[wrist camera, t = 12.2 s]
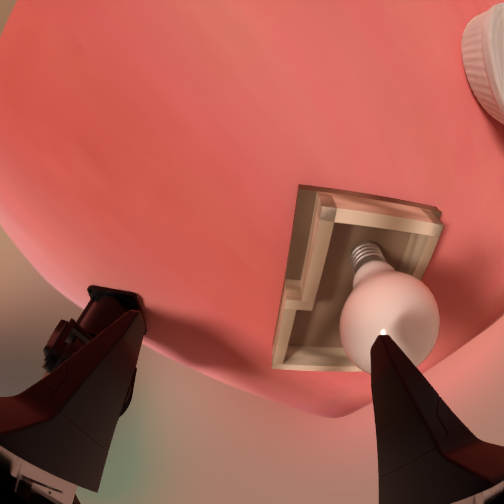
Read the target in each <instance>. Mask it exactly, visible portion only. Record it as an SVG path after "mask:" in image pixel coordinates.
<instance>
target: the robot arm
mask: <svg viewBox="0 0 504 504" xmlns="http://www.w3.org/2000/svg"><path fill="white" fill-rule="evenodd" d="M87 291H88V293H89V296H90V298H91V300H90V301H89V303H88V304H87V306H86V308H85V309H84V311H83V312H82V314H81V315H80V317H79V318H78V320H77V322H75V320H74V319H72V318H71V319H70V321H69V322H68V321H65V320H61V321H60V322H59V324H58V325H57V327H56V328H55V330H54V331H53V333H52V335H51V336H50V338H49V340H48V342H47V344H46V345H45V347H44V349H43V351H44V355H45V357H44V363H43V365H42V368H43V369H44V370H46V372H45V374H44V376H43V378H42V379H41V380H40V381H38V382H37V383H35V384H34V385H32V386H31V387H29V388H28V389H26V390H25V391H23V392H22V393H20V394H18V395H15V396H11V397H0V504H80V502H79V500H78V498H77V496H76V494H75V492H76V488H77V486H80V487H83V488H86V489H88V490H91V491H94V492H98V489H99V485H100V481H101V477H102V473H103V469H104V466H105V462H106V458H107V455H108V450H109V447H110V444H111V440H112V437H113V434H114V430H115V427H116V424H117V421H118V419H119V417H120V416H121V415H123V413H124V412H125V411H126V410H127V408H128V406H129V404H130V402H131V399H132V394H133V388H134V382H135V376H136V371H137V368H136V364H137V360H138V356H139V351H140V348H141V344H142V340H143V336H144V335H146V333H147V329H146V324H145V321H144V317H143V314H142V312H141V309H140V306H139V302H138V298H137V296H136V295H135V294H134V293H130V292H124V291H118V290H113V289H107V288H102V287H97V286H91V285H90V286H89V287H88V288H87ZM370 360H371V389H372V397H373V406H374V414H375V424H376V436H377V451H378V473H379V504H504V447H503V446H499V445H495V444H491V443H487V442H484V441H481V440H480V439H478V438H477V437H476V436H474V434H473V433H472V432H471V431H470V430H469V429H468V428H467V427H466V426H465V425H464V424H463V423H462V422H461V421H460V419H459V418H458V417H457V416H456V415H455V414H454V413H453V412H452V411H451V409H450V408H449V407H448V406H447V405H446V403H445V402H444V401H443V400H442V398H441V397H439V395H438V393H437V392H436V391H435V390H434V388H433V387H432V386H431V385H430V384H429V382H428V381H427V380H426V378H425V377H424V376H423V375H422V374H421V372H420V371H419V370H418V369H417V367H416V366H415V365H414V364H413V363H412V361H411V360H410V359H409V358H408V357H407V355H406V354H405V353H404V352H403V351H402V350H401V348H400V347H399V346H398V345H397V344H396V343H395V341H394V340H393V339H392V338H391V337H390V336H389V335H378V336H377V338H376V340H375V342H374V343H373V345H372V347H371V350H370Z"/></svg>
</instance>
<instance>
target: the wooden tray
mask: <svg viewBox="0 0 504 504" xmlns="http://www.w3.org/2000/svg"><path fill="white" fill-rule="evenodd" d="M440 215H441V211H440V210H439V209H438V208H437V207H434V206H429V205H424V204H419V203H414V202H409V201H404V200H399V199H394V198H388V197H382V196H377V195H371V194H365V193H358V192H352V191H345V190H338V189H331V188H324V187H316V186H308V185H298V193H297V200H296V207H295V214H294V221H293V228H292V234H291V241H290V247H289V254H288V260H287V266H286V272H285V278H284V284H283V290H282V296H281V301H280V307H279V313H278V318H277V324H276V329H275V335H274V340H273V353H272V369H285V370H303V371H362V370H361V369H359V368H358V367H357V366H356V365H354V364H353V362H352V361H351V360H350V359H349V358H348V356H347V354H346V353H345V351H344V349H343V346H342V343H341V339H340V333H339V323H340V316H341V312H342V309H343V306H344V304H345V302H346V300H347V298H348V296H349V295H350V293H351V292H352V290H353V279H354V275H353V271H352V268H351V265H350V262H349V255H350V253H351V251H352V249H353V248H354V247H355V246H357V245H359V244H361V243H364V242H371V243H374V244H376V245H377V246H378V247H379V248H380V251H381V252H382V254H383V257H384V258H385V261H386V262H387V263H388V264H390V265H391V266H392V267H393V268H394V269H395V270H396V271H399V272H403V273H406V274H409V275H412V276H414V277H416V278H417V279H419V280H420V281H421V279H422V277H423V275H424V272H425V270H426V268H427V266H428V264H429V261H430V259H431V257H432V254H433V252H434V250H435V247H436V245H437V242H438V240H439V237H440V235H441V232H442V229H443V227H444V225H443V224H442V223H441V221H440V220H439V218H440Z"/></svg>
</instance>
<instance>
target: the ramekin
mask: <svg viewBox="0 0 504 504" xmlns="http://www.w3.org/2000/svg"><path fill="white" fill-rule="evenodd" d="M461 46H462V50H461V51H462V60H463V66H464V70H465V73H466V76H467V79H468V82H469V84H470V87H471V89H472V91H473V93H474V95H475V96H476V98H477V100H478V102H479V103H480V104H481V106H482V107H483V108H484V109H485V110H486V112H487V113H488V114H490V115H491V116H492V117H493V118H494V119H496V120H497V121H499V122H500V123H502V124H503V125H504V3H499V4H496V5H494V6H492V7H491V8H490V9H489V10H488V11H486V12H484V13H481V14H479V15H477V16H475V17H474V18H472V19H471V21H470V22H468V24H467V26H466V27H465V30H464V32H463V36H462V43H461Z"/></svg>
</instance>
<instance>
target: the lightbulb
mask: <svg viewBox="0 0 504 504" xmlns="http://www.w3.org/2000/svg"><path fill="white" fill-rule="evenodd" d="M349 262H350V265H351V268H352V271H353V275H354V279H353V290H352V292H351V293H350V295H349V296H348V298H347V300H346V302H345V304H344V306H343V309H342V312H341V316H340V323H339V333H340V339H341V343H342V346H343V349H344V351H345V353H346V354H347V356H348V358H349V359H350V360H351V361H352V362H353V364H354V365H356V366H357V367H358V368H359V369H361V370H362V371H364V372H366V373H368V374H371V360H370V350H371V347H372V345H373V343H374V342H375V340H376V338H377V336H378V335H389V336H390V337H391V338H392V339H393V340H394V341H395V343H396V344H397V345H398V346H399V347H400V348H401V350H402V351H403V352H404V353H405V354H406V355H407V357H408V358H409V359H410V360H411V361H412V363H413V364H414V365H415V366H416V367H417V366H419V365H420V364H421V363H422V362H423V361H424V360H425V359H426V358H427V357H428V355H429V354H430V353H431V351H432V349H433V347H434V346H435V343H436V341H437V338H438V334H439V329H440V314H439V308H438V305H437V302H436V300H435V297H434V296H433V294H432V292H431V291H430V290H429V288H428V287H427V286H426V285H425V284H424V283H423V282H422V281H420V280H419V279H417V278H416V277H414V276H412V275H409V274H406V273H403V272H399V271H396V270H395V269H394V268H393V267H392V266H391V265H390V264H388V263H387V262H386V261H385V258H384V257H383V254H382V252H381V251H380V248H379V247H378V246H377V245H376V244H374V243H371V242H364V243H361V244H359V245H357V246H355V247H354V248H353V249H352V251H351V253H350V255H349Z"/></svg>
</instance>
